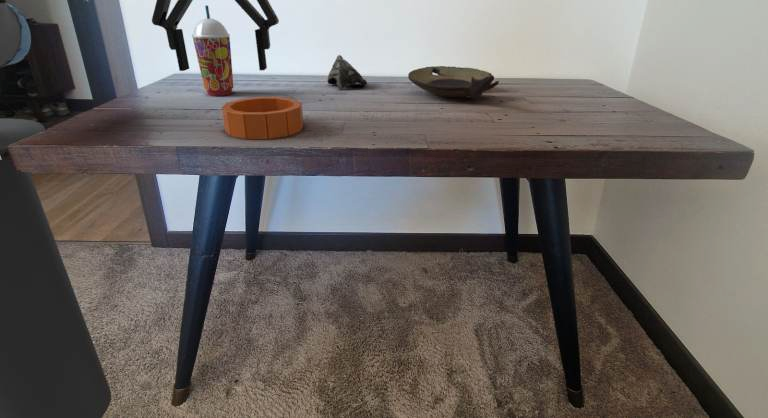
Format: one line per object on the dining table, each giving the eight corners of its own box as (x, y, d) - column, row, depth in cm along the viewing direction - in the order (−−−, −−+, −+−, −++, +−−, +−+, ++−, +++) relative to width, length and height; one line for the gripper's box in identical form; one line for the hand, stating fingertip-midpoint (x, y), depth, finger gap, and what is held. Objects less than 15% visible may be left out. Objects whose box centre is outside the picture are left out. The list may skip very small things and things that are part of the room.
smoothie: (195, 93, 108) (180, 5, 100) (225, 89, 114) (213, 5, 105) (214, 98, 104) (199, 6, 95) (244, 93, 109) (232, 5, 101)
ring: (217, 139, 75) (212, 114, 73) (236, 119, 87) (233, 96, 86) (297, 139, 76) (295, 114, 74) (306, 118, 88) (304, 96, 86)
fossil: (376, 85, 118) (362, 51, 112) (351, 104, 116) (335, 71, 110) (355, 77, 126) (340, 46, 120) (331, 96, 124) (315, 65, 117)
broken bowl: (487, 86, 122) (490, 57, 119) (509, 112, 96) (514, 76, 92) (407, 84, 123) (408, 55, 120) (407, 109, 97) (408, 73, 93)
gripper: (287, -70, 71) (298, 65, 81) (130, -71, 70) (160, 66, 79) (280, -77, 65) (292, 72, 74) (106, -78, 63) (141, 73, 73)
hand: (224, 69), depth 77 cm, fingers open, 13 cm apart
